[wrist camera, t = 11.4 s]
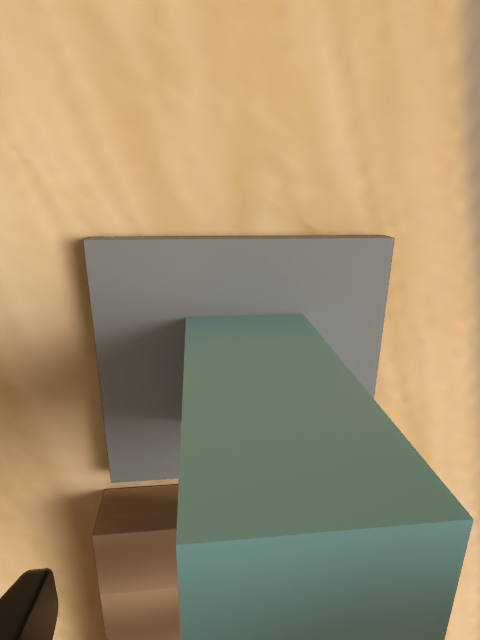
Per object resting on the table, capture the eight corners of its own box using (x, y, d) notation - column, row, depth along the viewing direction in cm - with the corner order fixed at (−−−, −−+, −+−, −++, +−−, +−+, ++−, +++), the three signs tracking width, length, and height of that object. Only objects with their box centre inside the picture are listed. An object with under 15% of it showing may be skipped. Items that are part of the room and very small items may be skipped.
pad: (358, 454, 19) (365, 465, 18) (114, 469, 18) (110, 482, 17) (384, 235, 16) (394, 237, 15) (89, 236, 15) (83, 240, 14)
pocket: (343, 646, 23) (360, 698, 21) (126, 671, 22) (118, 730, 20) (366, 471, 19) (390, 511, 17) (104, 489, 18) (91, 536, 16)
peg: (296, 414, 17) (427, 708, 8) (189, 420, 16) (186, 741, 7) (302, 313, 16) (473, 519, 6) (185, 317, 15) (175, 545, 6)
